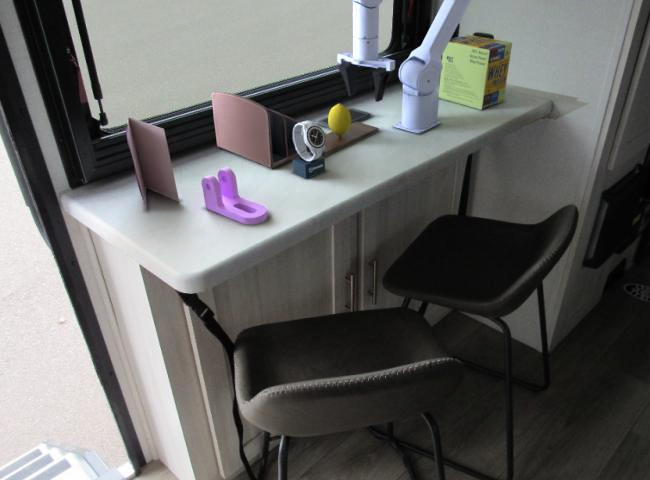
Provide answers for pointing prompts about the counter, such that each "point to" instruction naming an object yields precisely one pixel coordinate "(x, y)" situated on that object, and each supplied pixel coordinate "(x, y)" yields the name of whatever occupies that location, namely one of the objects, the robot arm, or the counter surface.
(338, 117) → the lemon
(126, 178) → the counter surface
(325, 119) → the cell phone
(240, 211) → the bracket
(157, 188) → the greeting card
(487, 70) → the protein box
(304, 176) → the watch
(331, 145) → the back board
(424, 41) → the robot arm
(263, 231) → the counter surface
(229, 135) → the letter holder
